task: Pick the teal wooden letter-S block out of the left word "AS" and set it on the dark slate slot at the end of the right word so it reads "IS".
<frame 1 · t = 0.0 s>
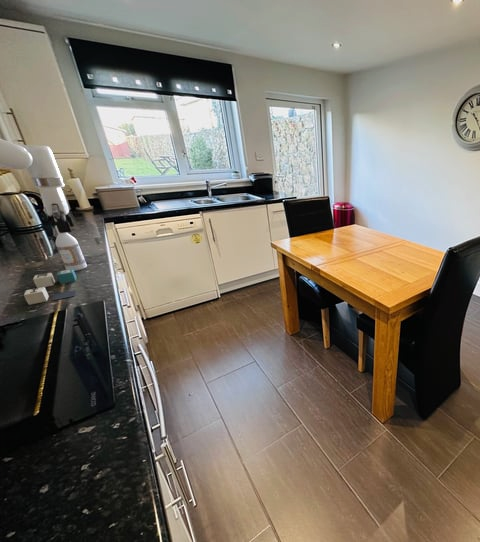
hand: (67, 229, 106), 22 cm above the worktop, tool pointing down, fingers open, 9 cm apart
tile S: (69, 280, 116), on the worktop
tile A: (46, 284, 112), on the worktop
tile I: (39, 300, 101), on the worktop
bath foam: (77, 269, 128), on the worktop
slot pad: (64, 295, 105), on the worktop
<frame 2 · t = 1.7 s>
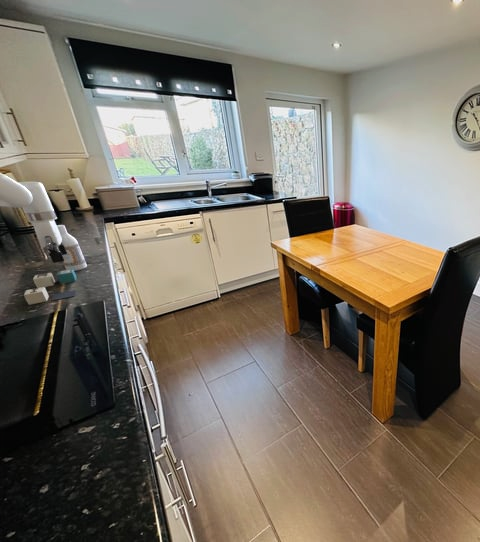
hand: (60, 258, 113), 10 cm above the worktop, tool pointing down, fingers open, 9 cm apart
nothing on the worktop moved.
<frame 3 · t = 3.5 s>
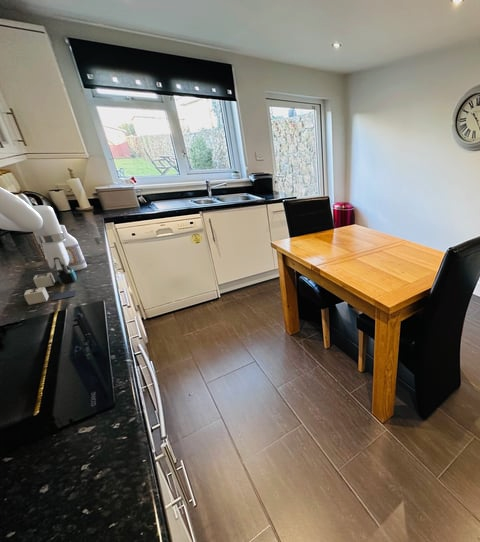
hand: (68, 280, 116), 0 cm above the worktop, tool pointing down, fingers closed on tile S, 4 cm apart
tile S: (69, 280, 116), on the worktop, touching gripper
everything else where it was.
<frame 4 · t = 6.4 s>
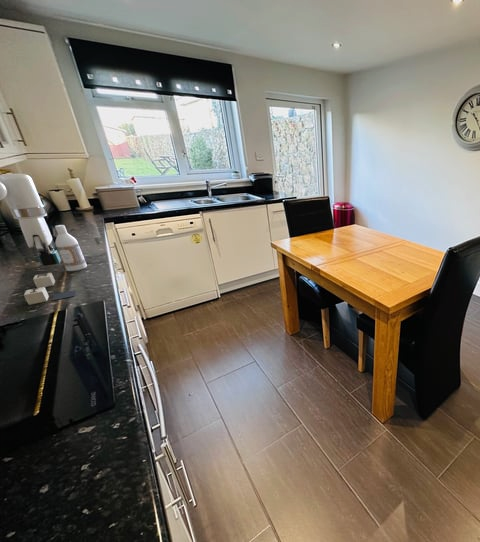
hand: (51, 262, 102), 13 cm above the worktop, tool pointing down, fingers closed on tile S, 4 cm apart
tile S: (51, 263, 102), point 12 cm above the worktop, touching gripper
everything else where it was.
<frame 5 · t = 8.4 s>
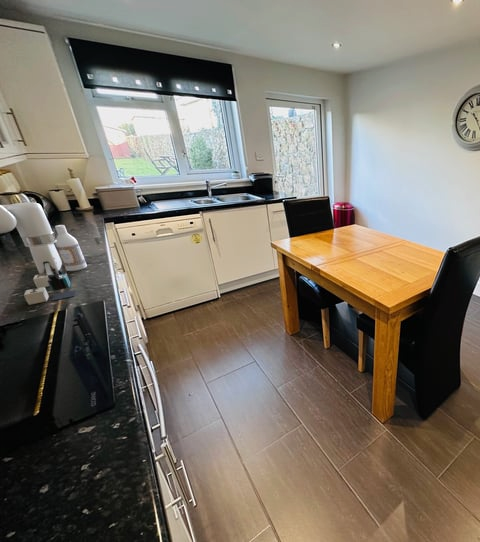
hand: (61, 286, 104), 4 cm above the worktop, tool pointing down, fingers closed on tile S, 4 cm apart
tile S: (61, 287, 104), point 3 cm above the worktop, touching gripper
everything else where it was.
when the fingers open (1 cm above the worktop, at t = 9.6 s): tile S stays where it is, resting on slot pad.
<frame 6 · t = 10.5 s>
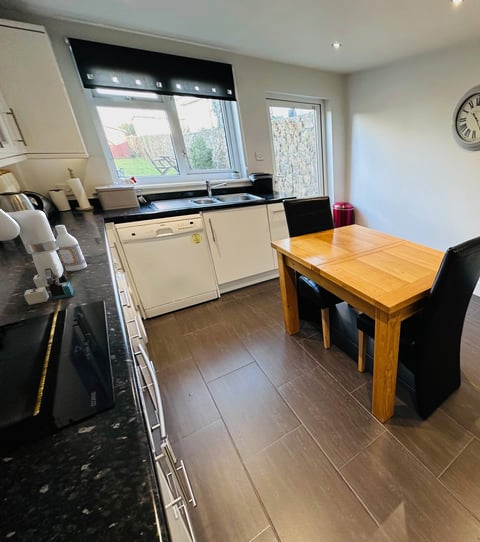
hand: (61, 290, 104), 2 cm above the worktop, tool pointing down, fingers open, 9 cm apart
tile S: (64, 294, 105), resting on slot pad
everything else where it was.
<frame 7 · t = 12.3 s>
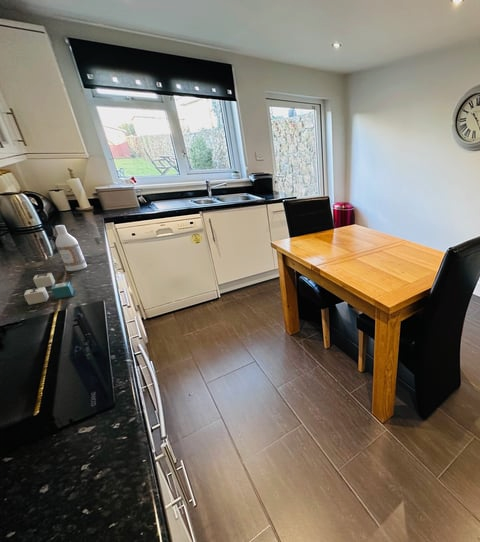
nothing on the worktop moved.
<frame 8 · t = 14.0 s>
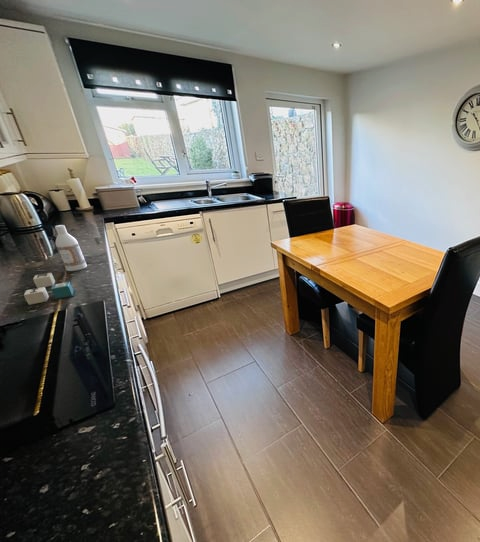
nothing on the worktop moved.
at the end: tile S 0.2 cm off-centre on the slot pad, point 0.2 cm above the slot pad's base; tile S tilted 0°; tile A moved 0.0 cm from its start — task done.
